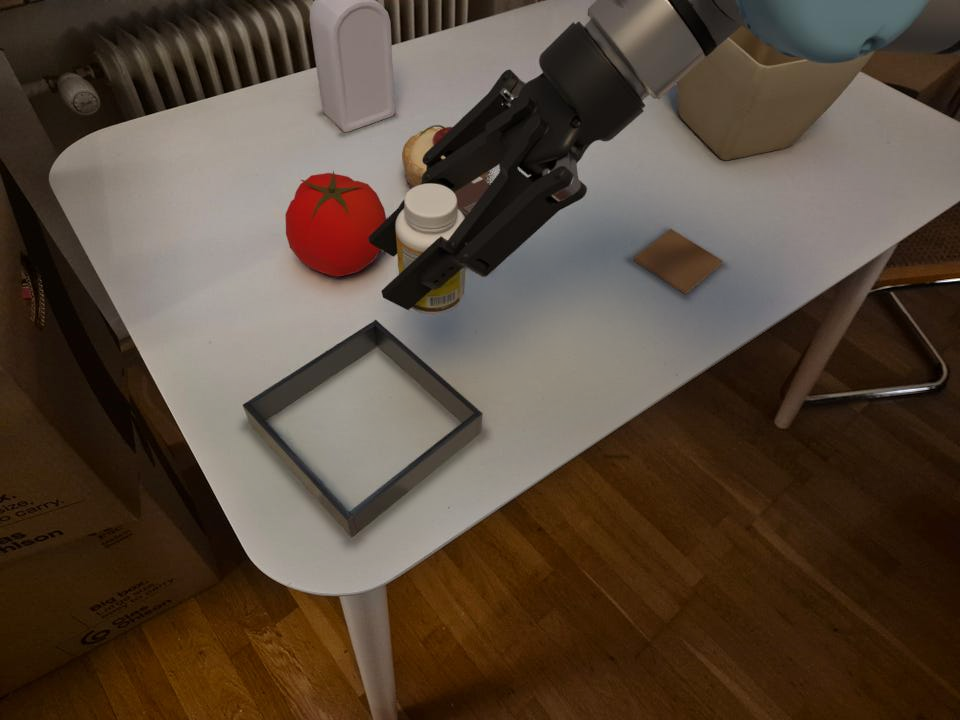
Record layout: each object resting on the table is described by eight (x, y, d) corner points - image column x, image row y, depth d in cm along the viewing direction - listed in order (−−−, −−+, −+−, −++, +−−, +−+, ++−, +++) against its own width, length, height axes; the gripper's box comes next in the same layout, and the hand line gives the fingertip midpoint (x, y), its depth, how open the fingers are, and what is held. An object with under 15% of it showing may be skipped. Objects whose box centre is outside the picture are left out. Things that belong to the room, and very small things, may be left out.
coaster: (721, 264, 84) (723, 260, 84) (685, 294, 80) (687, 291, 80) (669, 232, 87) (671, 228, 87) (633, 260, 84) (634, 256, 83)
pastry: (502, 198, 90) (508, 141, 83) (419, 217, 87) (418, 159, 80) (469, 148, 96) (472, 91, 90) (391, 164, 93) (387, 106, 86)
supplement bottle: (422, 263, 60) (420, 167, 52) (476, 287, 58) (482, 192, 50) (386, 301, 57) (378, 205, 49) (442, 328, 55) (442, 233, 47)
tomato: (282, 239, 83) (264, 163, 74) (371, 218, 86) (364, 142, 77) (308, 305, 76) (292, 230, 67) (403, 279, 79) (399, 205, 71)
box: (466, 264, 82) (468, 217, 76) (436, 237, 84) (436, 190, 79) (503, 245, 84) (508, 198, 78) (474, 219, 87) (476, 172, 81)
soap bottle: (346, 136, 97) (326, -34, 79) (322, 113, 100) (297, -55, 82) (398, 118, 100) (390, -50, 82) (374, 96, 104) (361, -69, 86)
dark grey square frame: (480, 432, 67) (483, 413, 64) (351, 537, 59) (347, 521, 57) (378, 340, 73) (375, 319, 71) (250, 424, 66) (242, 404, 63)
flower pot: (823, 156, 100) (882, 45, 87) (717, 180, 95) (763, 66, 82) (748, 91, 111) (790, -17, 97) (649, 109, 106) (680, -2, 92)
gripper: (540, -38, 48) (335, 180, 57) (645, 103, 37) (371, 343, 46) (595, 31, 53) (399, 220, 62) (702, 172, 42) (445, 375, 51)
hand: (388, 272), depth 54 cm, fingers closed on supplement bottle, 6 cm apart
